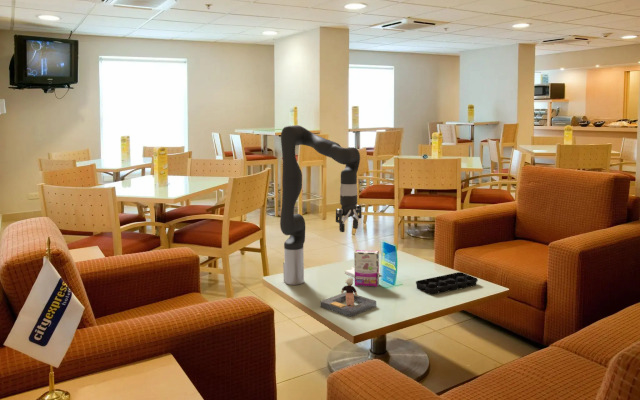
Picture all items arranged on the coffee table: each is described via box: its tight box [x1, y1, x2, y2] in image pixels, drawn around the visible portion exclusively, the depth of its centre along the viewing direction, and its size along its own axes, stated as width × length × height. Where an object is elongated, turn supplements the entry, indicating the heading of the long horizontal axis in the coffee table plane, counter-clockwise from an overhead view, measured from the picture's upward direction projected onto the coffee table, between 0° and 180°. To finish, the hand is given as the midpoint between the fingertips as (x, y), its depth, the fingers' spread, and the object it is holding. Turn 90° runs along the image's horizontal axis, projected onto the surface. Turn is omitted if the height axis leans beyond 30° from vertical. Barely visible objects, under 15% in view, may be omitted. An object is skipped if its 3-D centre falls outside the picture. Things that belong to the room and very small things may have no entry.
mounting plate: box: [344, 266, 380, 279], centre depth 275 cm, size 18×13×2 cm
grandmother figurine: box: [340, 276, 359, 307], centre depth 231 cm, size 8×4×13 cm, turn 70°
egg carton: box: [415, 271, 478, 296], centre depth 256 cm, size 18×30×4 cm, turn 131°
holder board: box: [319, 291, 377, 318], centre depth 231 cm, size 17×16×3 cm
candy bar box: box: [354, 249, 380, 288], centre depth 258 cm, size 11×5×16 cm, turn 76°
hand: (348, 230), depth 240 cm, fingers open, 8 cm apart
